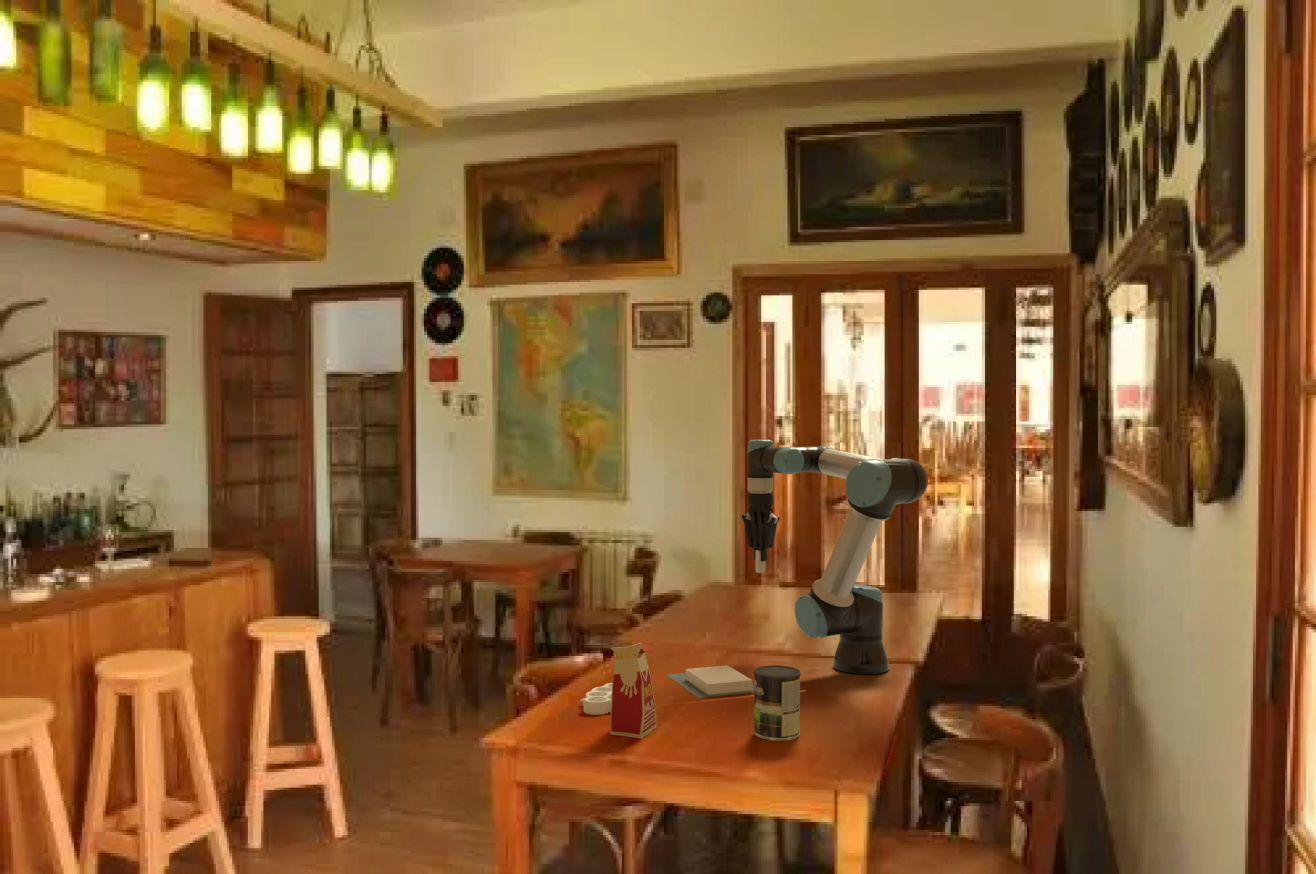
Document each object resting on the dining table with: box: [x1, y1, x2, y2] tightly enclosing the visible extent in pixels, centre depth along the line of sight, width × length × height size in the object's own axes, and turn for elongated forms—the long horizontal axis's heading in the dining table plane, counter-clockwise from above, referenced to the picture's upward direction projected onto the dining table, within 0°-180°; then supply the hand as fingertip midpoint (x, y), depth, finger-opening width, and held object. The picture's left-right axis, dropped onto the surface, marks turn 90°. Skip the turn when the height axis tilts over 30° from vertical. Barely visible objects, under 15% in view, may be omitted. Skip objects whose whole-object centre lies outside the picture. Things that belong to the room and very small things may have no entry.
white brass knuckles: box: [579, 682, 612, 716], centre depth 249 cm, size 3×18×15 cm
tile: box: [685, 665, 753, 697], centre depth 264 cm, size 3×12×16 cm
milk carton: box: [609, 642, 658, 739], centre depth 229 cm, size 9×9×20 cm
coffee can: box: [753, 664, 802, 742], centre depth 226 cm, size 10×10×14 cm
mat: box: [666, 672, 755, 699], centre depth 268 cm, size 24×18×1 cm
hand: (760, 572), depth 301 cm, fingers closed
